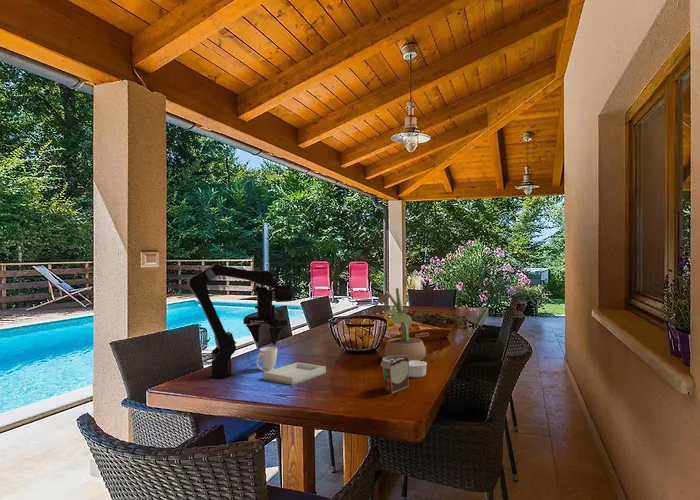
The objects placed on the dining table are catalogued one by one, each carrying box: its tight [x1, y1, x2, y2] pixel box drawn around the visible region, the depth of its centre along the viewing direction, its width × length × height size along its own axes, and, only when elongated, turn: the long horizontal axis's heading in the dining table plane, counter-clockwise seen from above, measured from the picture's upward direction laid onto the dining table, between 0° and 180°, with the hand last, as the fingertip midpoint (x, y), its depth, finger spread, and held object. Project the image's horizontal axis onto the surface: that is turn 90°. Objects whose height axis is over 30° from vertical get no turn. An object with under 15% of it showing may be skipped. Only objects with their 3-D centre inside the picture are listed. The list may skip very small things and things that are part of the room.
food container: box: [380, 355, 410, 394], centre depth 155 cm, size 12×6×10 cm, turn 141°
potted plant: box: [376, 287, 427, 361], centre depth 194 cm, size 22×18×30 cm
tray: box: [263, 361, 327, 386], centre depth 173 cm, size 18×14×2 cm
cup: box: [255, 346, 278, 372], centre depth 183 cm, size 7×10×8 cm
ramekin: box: [409, 360, 428, 378], centre depth 171 cm, size 9×9×4 cm
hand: (265, 343), depth 183 cm, fingers open, 9 cm apart
